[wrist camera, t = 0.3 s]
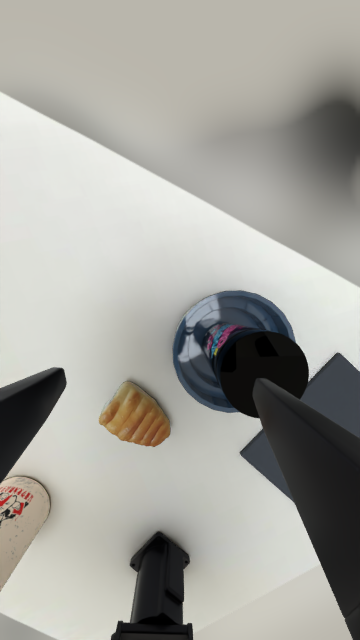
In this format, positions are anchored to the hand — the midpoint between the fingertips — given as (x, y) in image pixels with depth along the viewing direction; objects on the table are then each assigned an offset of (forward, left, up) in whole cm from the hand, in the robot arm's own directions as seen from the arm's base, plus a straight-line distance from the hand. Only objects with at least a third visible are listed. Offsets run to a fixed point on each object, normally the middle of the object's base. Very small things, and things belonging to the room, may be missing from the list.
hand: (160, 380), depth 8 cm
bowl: (+4, -6, -15) cm, 17 cm away
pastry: (-11, -3, -16) cm, 19 cm away
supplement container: (+4, -6, -15) cm, 17 cm away
